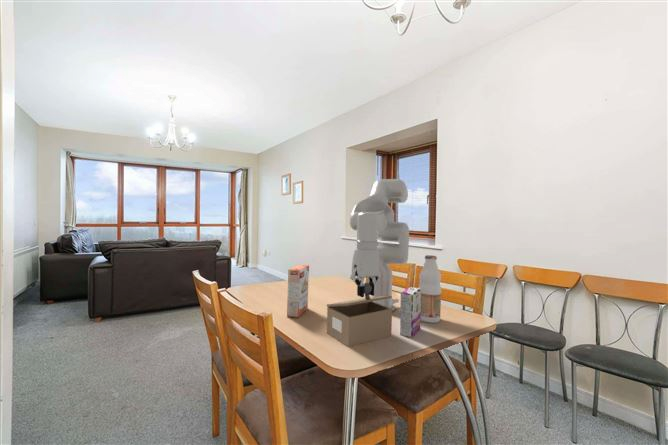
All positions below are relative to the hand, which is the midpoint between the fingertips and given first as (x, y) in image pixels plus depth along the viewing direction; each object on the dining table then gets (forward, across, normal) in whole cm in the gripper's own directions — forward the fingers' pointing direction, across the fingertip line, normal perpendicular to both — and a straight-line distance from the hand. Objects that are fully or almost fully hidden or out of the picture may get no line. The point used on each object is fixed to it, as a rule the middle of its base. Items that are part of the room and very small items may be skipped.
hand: (365, 295), depth 111 cm
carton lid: (+4, 0, -3) cm, 5 cm away
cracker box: (+16, +9, -38) cm, 42 cm away
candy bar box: (+16, -19, +5) cm, 25 cm away
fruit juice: (+16, -37, -1) cm, 40 cm away
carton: (+16, 0, -3) cm, 16 cm away
